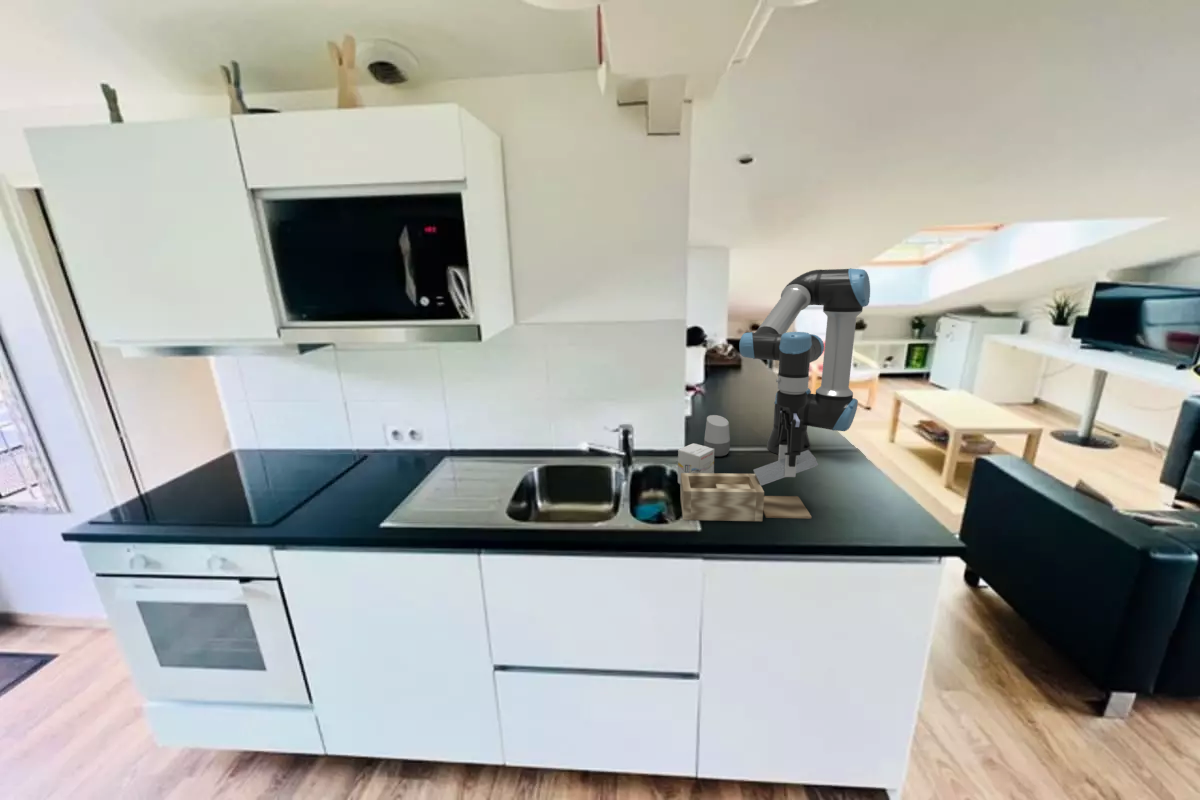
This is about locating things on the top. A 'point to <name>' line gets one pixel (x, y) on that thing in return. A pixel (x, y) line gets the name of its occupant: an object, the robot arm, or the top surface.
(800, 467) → the grey flat bar
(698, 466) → the ink box
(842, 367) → the robot arm
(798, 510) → the pad
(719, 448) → the smart speaker
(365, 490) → the top surface
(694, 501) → the box
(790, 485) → the top surface
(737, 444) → the top surface
